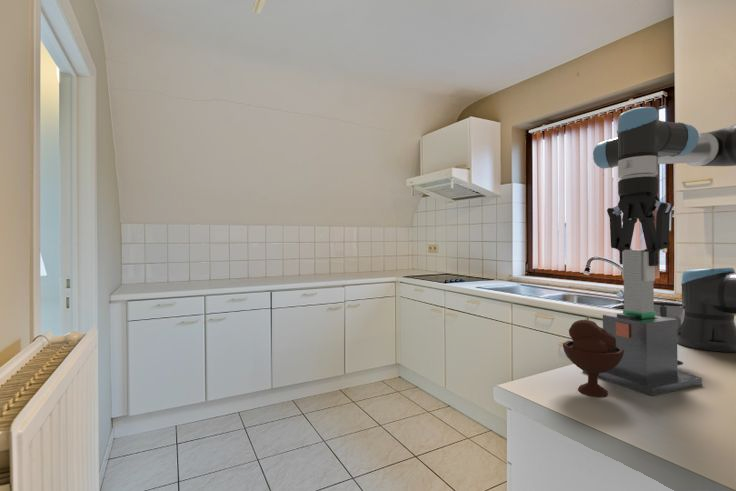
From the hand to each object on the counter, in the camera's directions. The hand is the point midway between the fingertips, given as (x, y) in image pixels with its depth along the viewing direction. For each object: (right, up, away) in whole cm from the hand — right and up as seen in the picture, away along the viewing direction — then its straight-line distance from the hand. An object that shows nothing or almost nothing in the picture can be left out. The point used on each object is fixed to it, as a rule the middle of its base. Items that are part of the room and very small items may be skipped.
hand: (638, 279), depth 87 cm
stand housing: (0, -23, 0) cm, 23 cm away
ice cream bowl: (-15, -23, -8) cm, 29 cm away
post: (0, -14, 0) cm, 14 cm away
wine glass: (+16, -23, +12) cm, 30 cm away
